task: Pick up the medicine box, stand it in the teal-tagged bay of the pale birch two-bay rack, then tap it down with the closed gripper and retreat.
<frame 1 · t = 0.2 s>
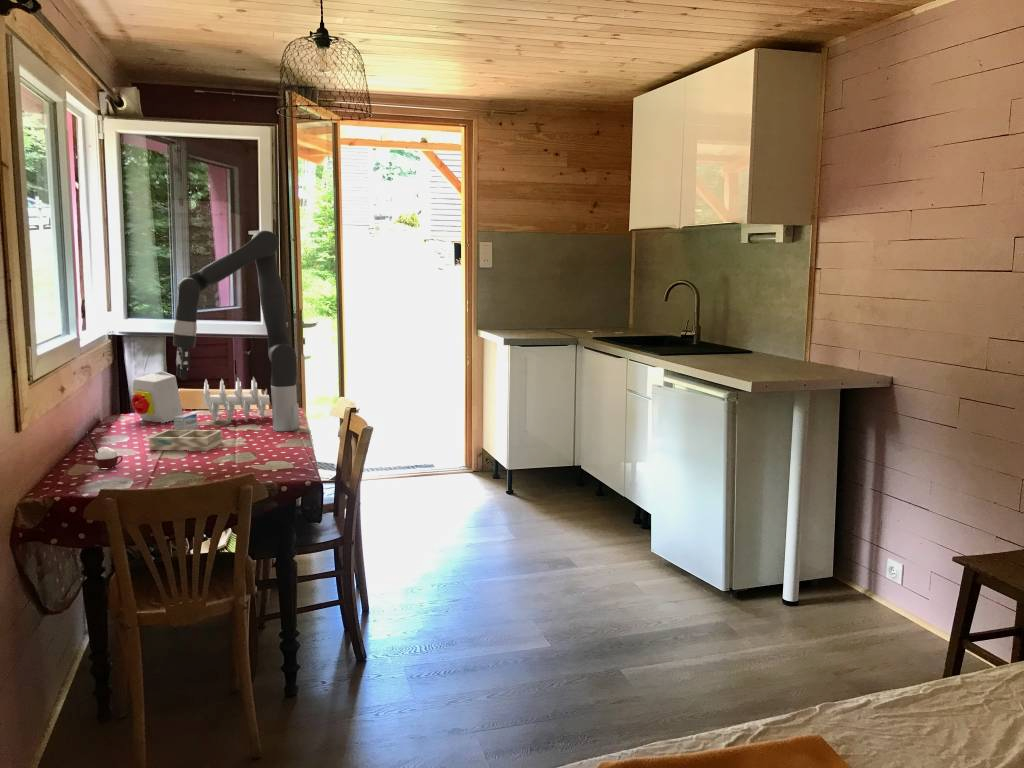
hand: (181, 378, 290), 22 cm above the table, tool pointing down, fingers open, 8 cm apart
rack: (186, 446, 280), on the table
medicine box: (186, 438, 294), on the table
electrical switch box: (155, 421, 324), on the table
cocoa: (106, 468, 251), on the table
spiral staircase: (238, 421, 326), on the table
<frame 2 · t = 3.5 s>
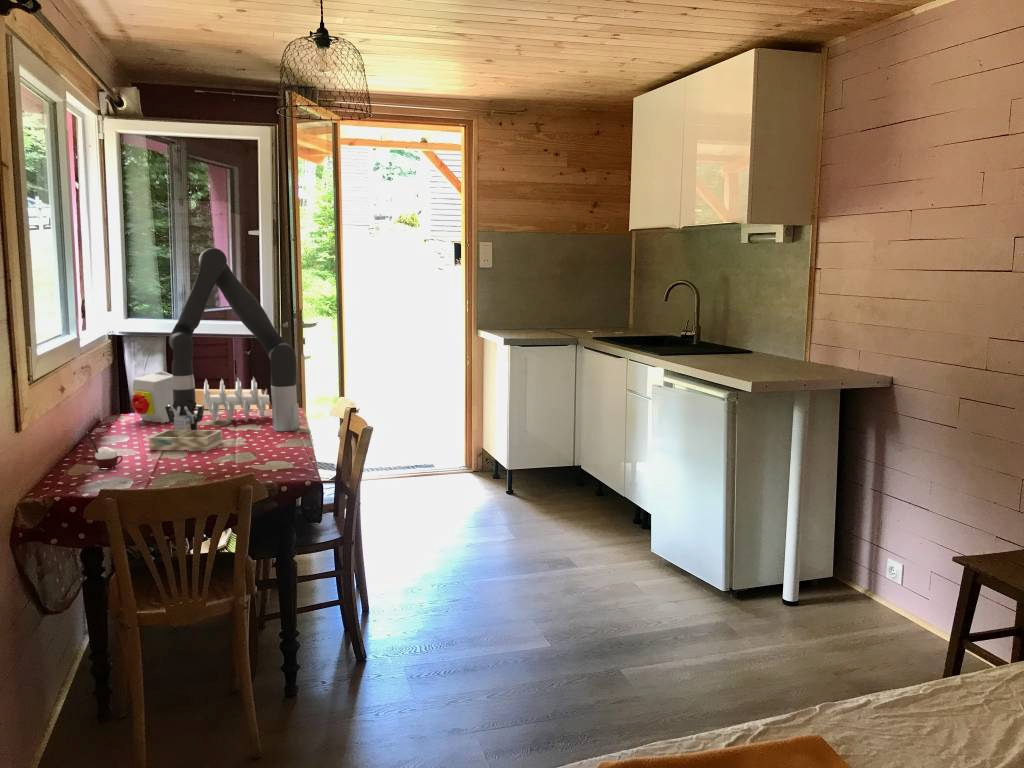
hand: (186, 433, 293), 2 cm above the table, tool pointing down, fingers closed on medicine box, 4 cm apart
medicine box: (186, 438, 294), on the table, touching gripper
everything else where it was.
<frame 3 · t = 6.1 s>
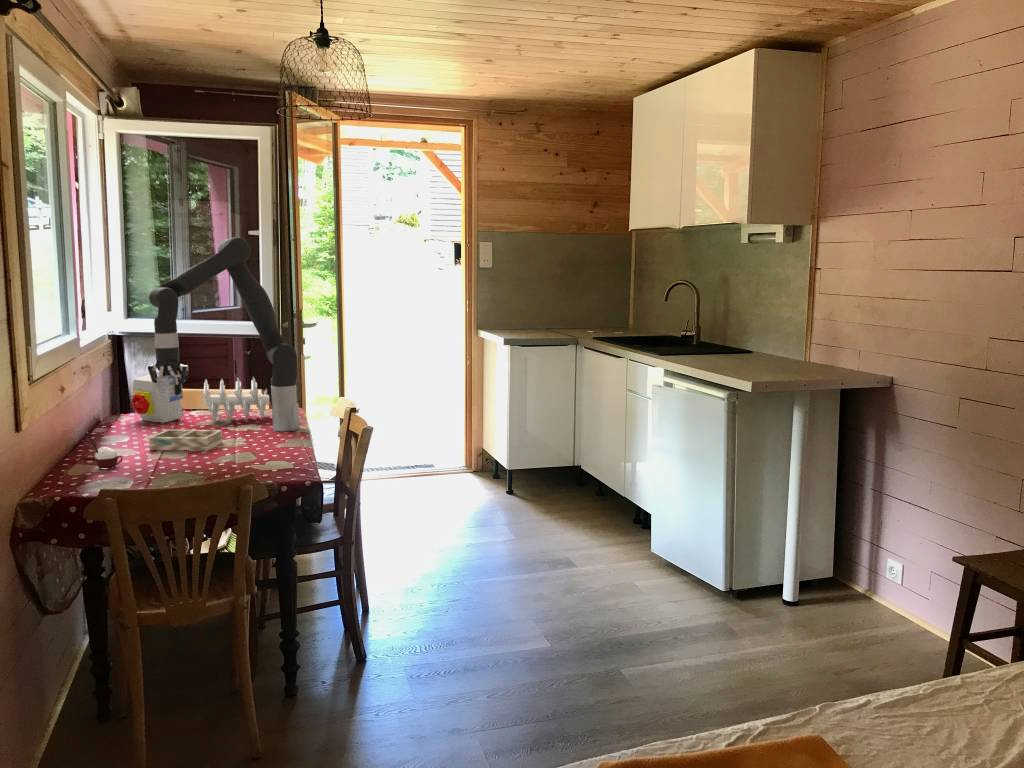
hand: (170, 394, 278), 18 cm above the table, tool pointing down, fingers closed on medicine box, 4 cm apart
medicine box: (170, 400, 278), point 16 cm above the table, touching gripper
everything else where it was.
when the fingers open (5 cm above the table, at t = 8.8 s): medicine box drops 2 cm, resting on rack.
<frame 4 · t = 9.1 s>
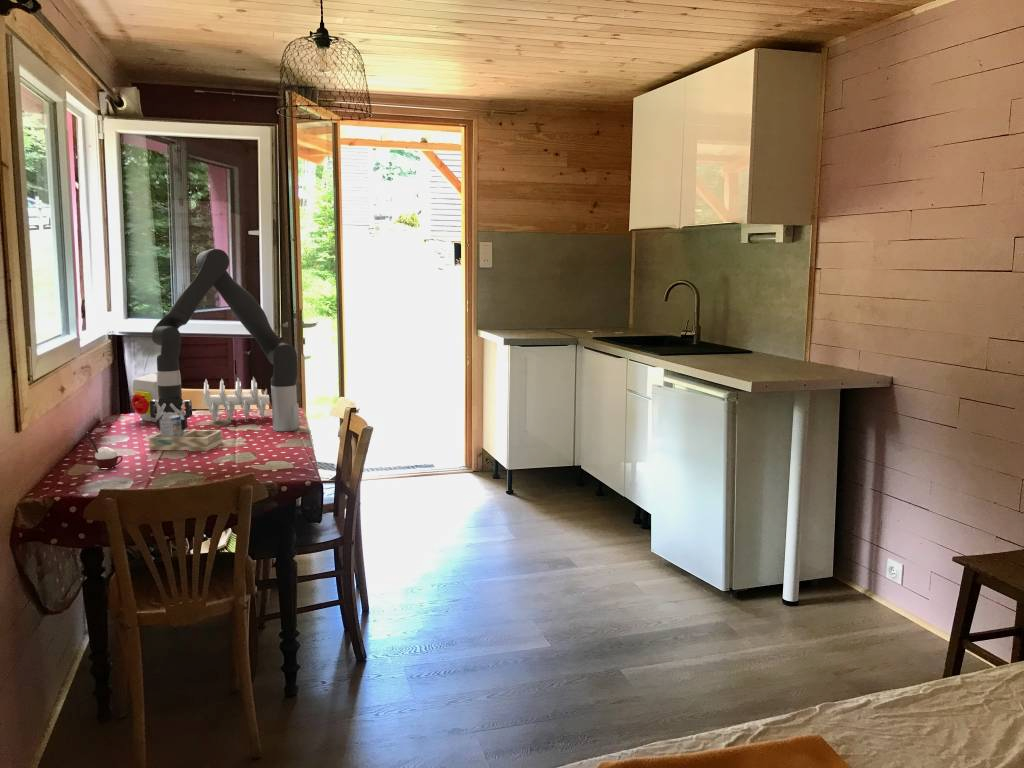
hand: (172, 429, 280), 6 cm above the table, tool pointing down, fingers open, 7 cm apart
medicine box: (173, 442, 280), point 1 cm above the table, touching rack
everything else where it was.
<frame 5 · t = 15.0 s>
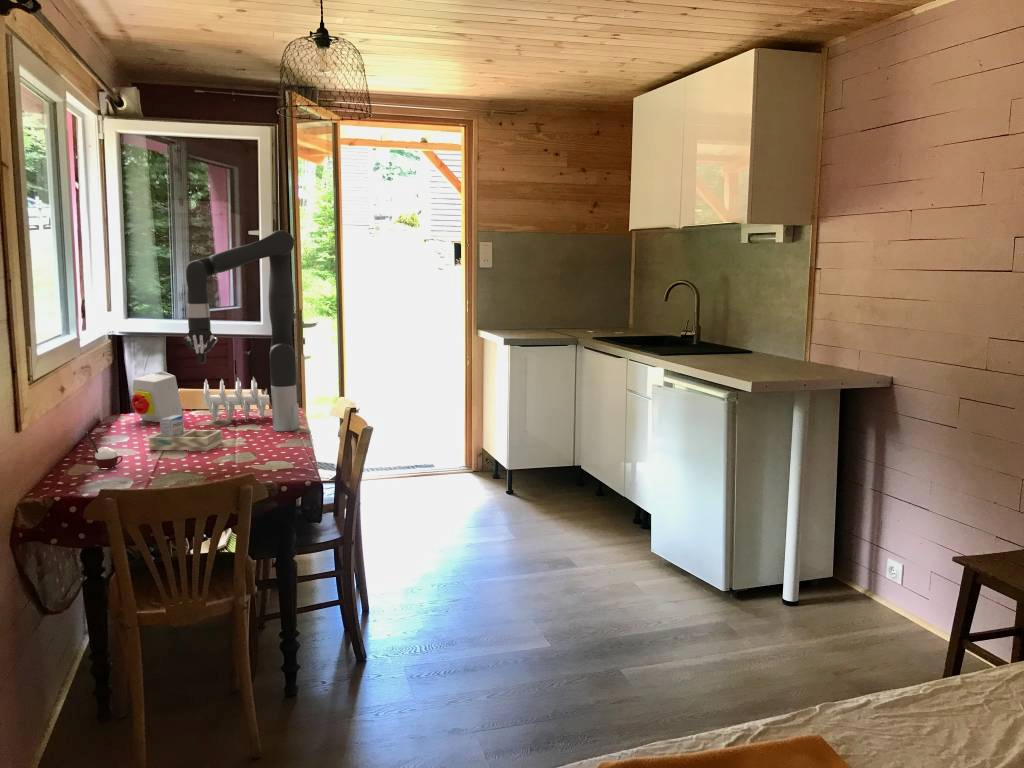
hand: (201, 363, 294), 27 cm above the table, tool pointing down, fingers closed
nothing on the table moved.
at the end: medicine box inside the target area on the rack (0.2 cm from its centre), point 1.5 cm above the rack's base; medicine box tilted 0°; the gripper is holding nothing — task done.
